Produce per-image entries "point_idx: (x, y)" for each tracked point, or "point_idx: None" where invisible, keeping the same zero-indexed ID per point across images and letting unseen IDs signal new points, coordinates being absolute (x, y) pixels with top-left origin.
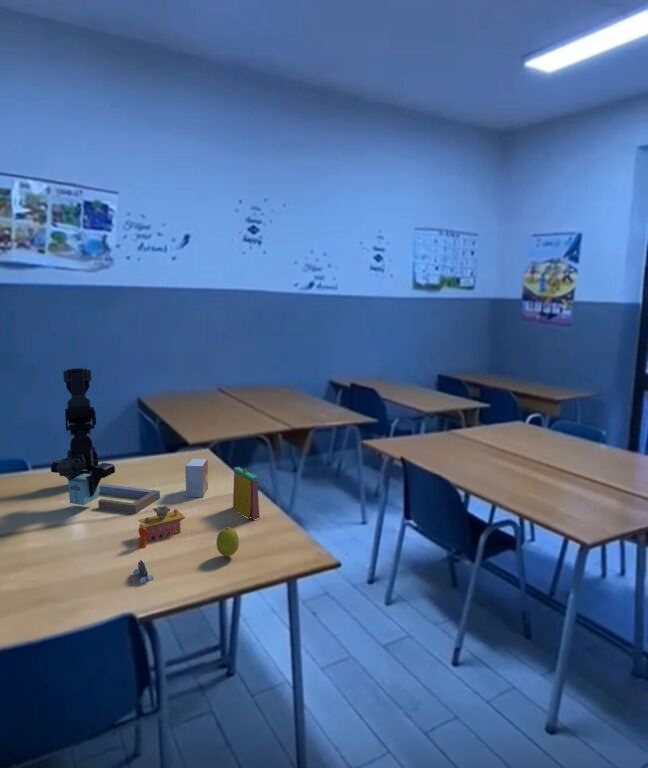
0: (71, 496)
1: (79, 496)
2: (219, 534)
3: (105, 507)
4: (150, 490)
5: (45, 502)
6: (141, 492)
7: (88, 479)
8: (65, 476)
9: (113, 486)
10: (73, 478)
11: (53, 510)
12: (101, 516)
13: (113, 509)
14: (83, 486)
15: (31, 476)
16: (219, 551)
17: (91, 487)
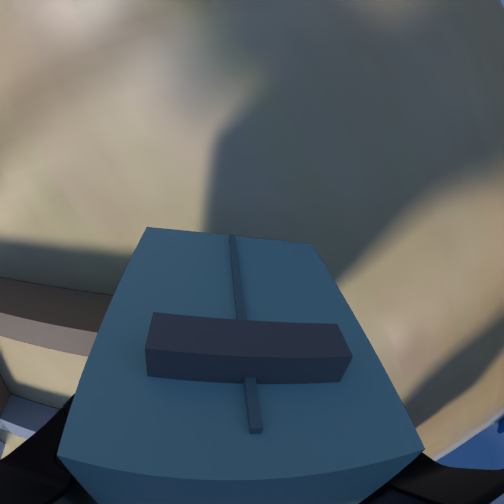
0: (306, 280)
1: (186, 277)
2: None
3: (73, 298)
4: (17, 432)
5: (463, 302)
6: (37, 427)
7: (14, 498)
8: (473, 480)
9: None
10: (362, 499)
11: (409, 216)
12: (26, 185)
13: (26, 286)
14: (81, 391)
15: (490, 413)
16: None
17: (70, 407)
